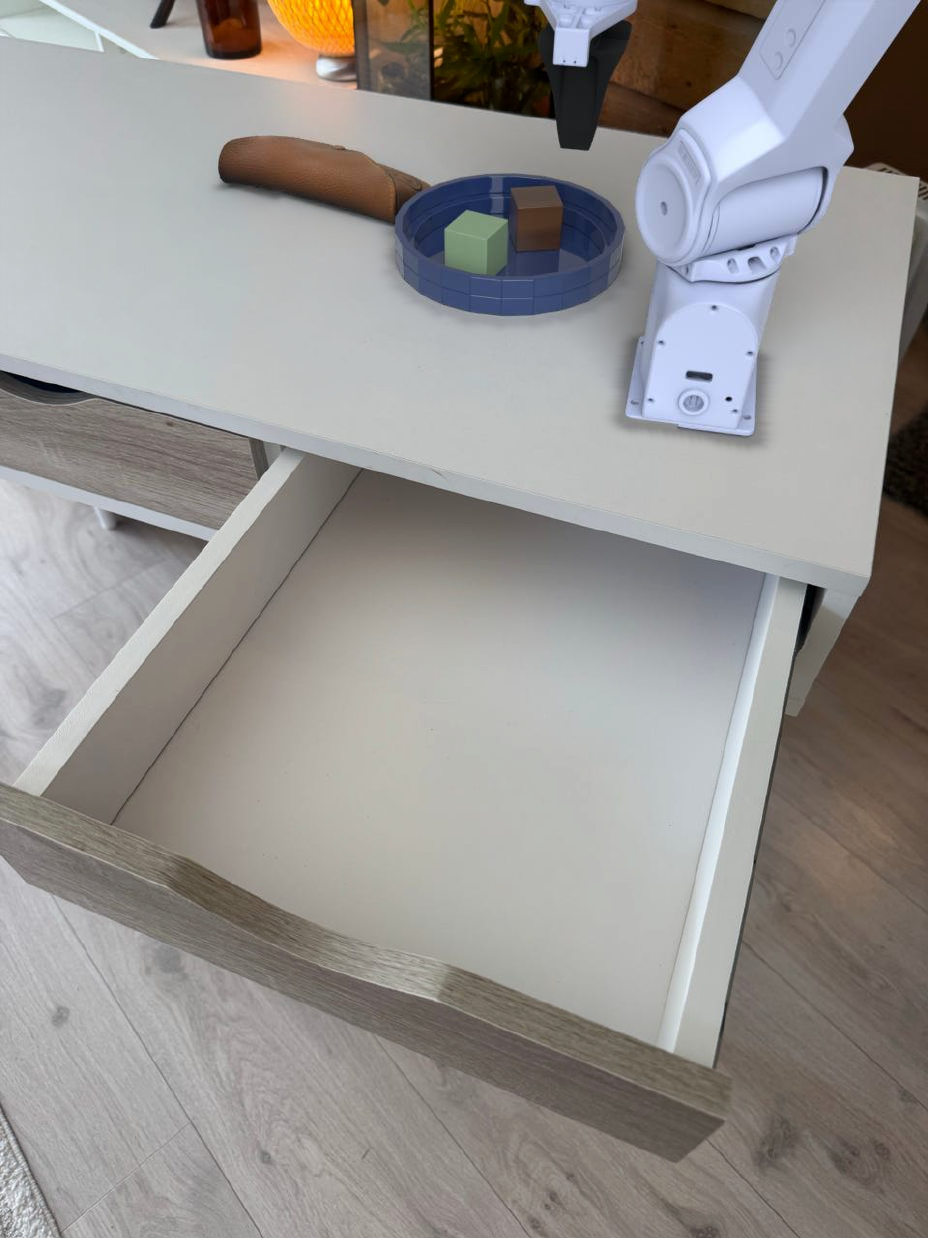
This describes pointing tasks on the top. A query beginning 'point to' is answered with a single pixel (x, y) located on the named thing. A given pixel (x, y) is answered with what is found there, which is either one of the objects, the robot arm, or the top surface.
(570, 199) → the bowl
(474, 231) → the sage block
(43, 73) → the top surface
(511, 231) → the walnut block
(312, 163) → the sunglasses case
